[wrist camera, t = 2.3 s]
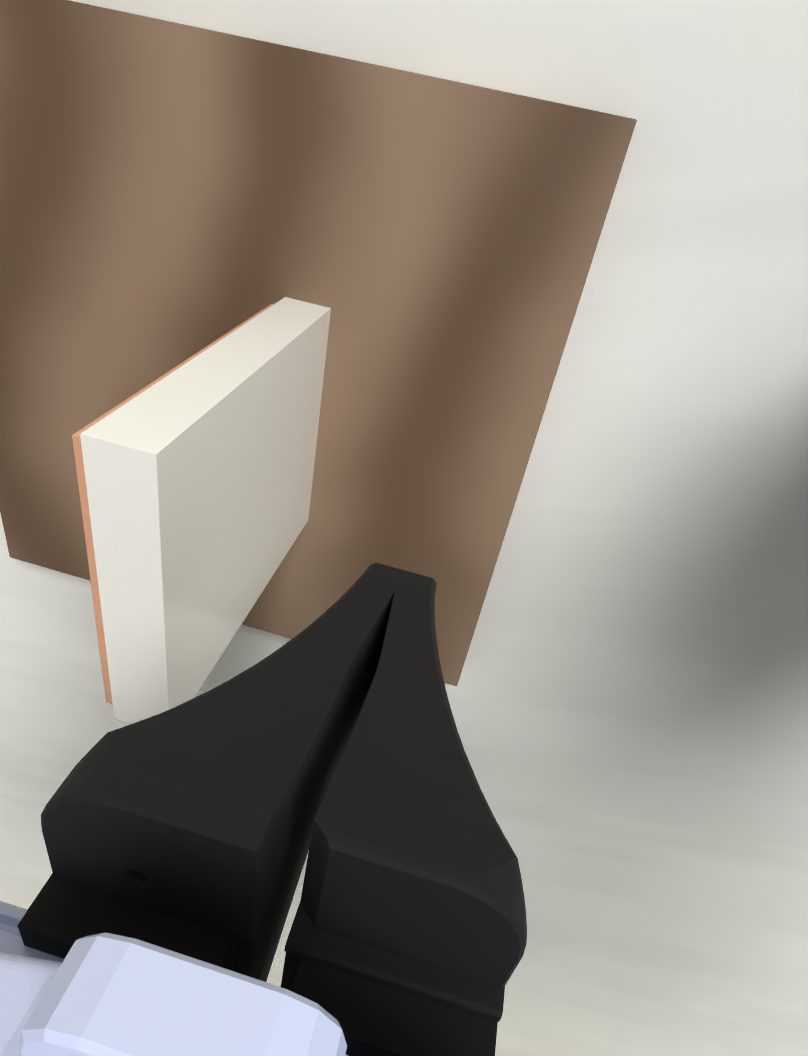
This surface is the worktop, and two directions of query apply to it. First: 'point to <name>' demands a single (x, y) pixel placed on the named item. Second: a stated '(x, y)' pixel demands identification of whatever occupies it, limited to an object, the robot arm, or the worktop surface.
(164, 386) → the glazed tile
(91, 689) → the worktop surface
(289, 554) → the walnut board
